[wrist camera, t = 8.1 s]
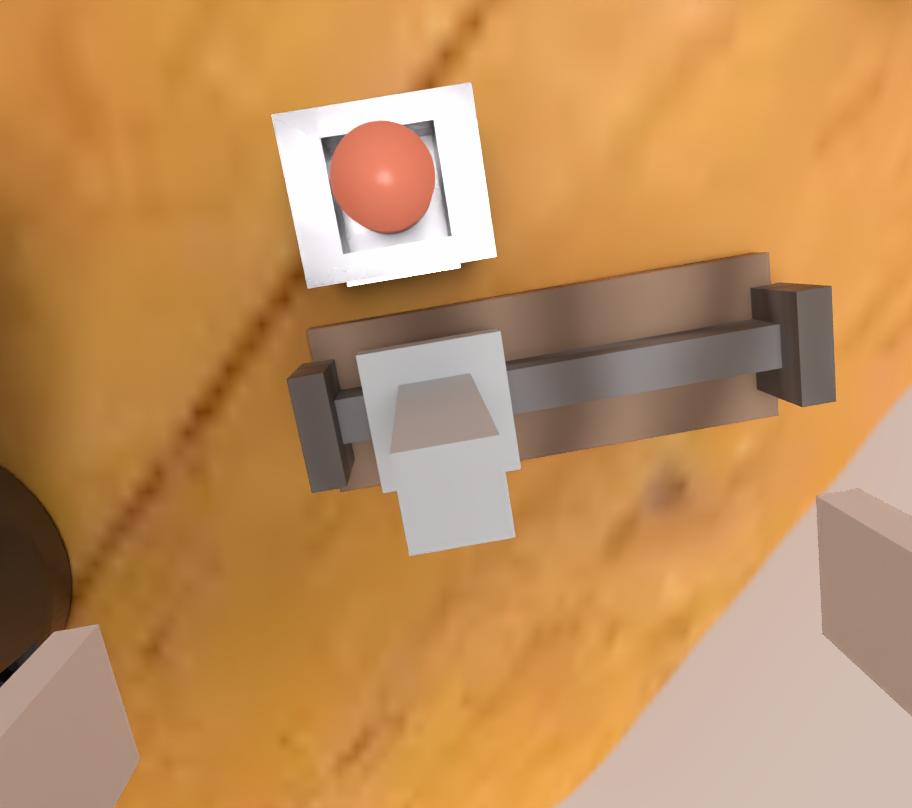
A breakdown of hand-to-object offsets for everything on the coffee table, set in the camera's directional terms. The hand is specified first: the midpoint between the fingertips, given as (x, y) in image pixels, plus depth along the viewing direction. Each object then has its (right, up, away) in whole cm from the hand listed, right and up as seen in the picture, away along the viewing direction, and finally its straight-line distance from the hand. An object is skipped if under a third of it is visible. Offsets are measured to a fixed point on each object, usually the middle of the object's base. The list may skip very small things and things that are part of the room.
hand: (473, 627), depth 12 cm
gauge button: (-3, +12, +12) cm, 17 cm away
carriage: (-1, +4, +20) cm, 20 cm away
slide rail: (+4, +6, +22) cm, 23 cm away
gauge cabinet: (-3, +13, +20) cm, 24 cm away
